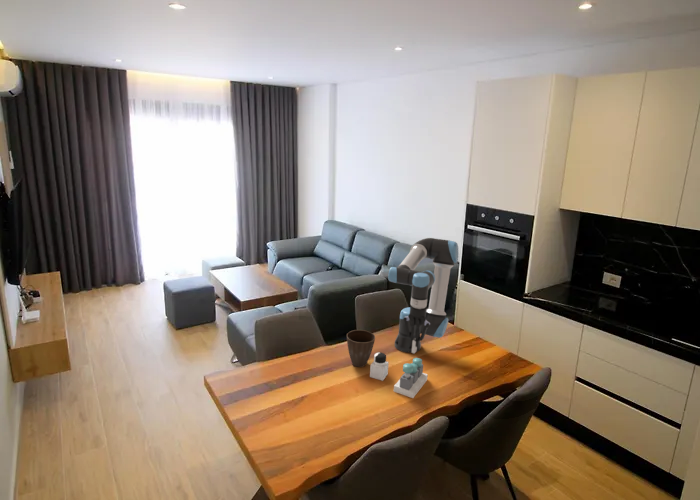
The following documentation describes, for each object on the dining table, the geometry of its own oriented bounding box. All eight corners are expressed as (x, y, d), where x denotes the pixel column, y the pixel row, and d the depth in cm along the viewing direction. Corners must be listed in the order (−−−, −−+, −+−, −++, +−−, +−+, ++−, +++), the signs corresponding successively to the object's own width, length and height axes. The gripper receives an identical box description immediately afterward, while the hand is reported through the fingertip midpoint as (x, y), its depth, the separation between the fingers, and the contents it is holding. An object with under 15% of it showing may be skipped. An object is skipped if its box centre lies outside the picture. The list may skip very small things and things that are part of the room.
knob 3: (405, 380, 210) (406, 366, 208) (408, 376, 213) (410, 362, 211) (414, 383, 207) (415, 369, 205) (417, 379, 211) (418, 365, 209)
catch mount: (393, 391, 206) (394, 376, 203) (408, 373, 222) (410, 359, 220) (413, 398, 201) (414, 383, 199) (427, 379, 217) (428, 365, 215)
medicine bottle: (387, 374, 220) (389, 353, 217) (382, 381, 214) (384, 359, 211) (374, 370, 223) (376, 349, 220) (369, 377, 217) (371, 355, 214)
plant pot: (352, 354, 239) (354, 327, 235) (377, 361, 233) (379, 333, 228) (340, 366, 226) (341, 338, 222) (366, 373, 220) (368, 345, 215)
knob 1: (400, 380, 203) (401, 366, 201) (404, 376, 207) (405, 362, 205) (409, 384, 201) (410, 369, 199) (413, 379, 205) (414, 365, 203)
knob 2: (410, 374, 215) (411, 360, 213) (413, 370, 219) (414, 356, 217) (418, 377, 213) (420, 363, 211) (422, 373, 217) (423, 359, 215)
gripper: (402, 305, 200) (398, 351, 206) (429, 311, 194) (424, 359, 200) (408, 300, 207) (404, 345, 213) (434, 306, 200) (429, 352, 207)
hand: (413, 351), depth 206 cm, fingers closed
